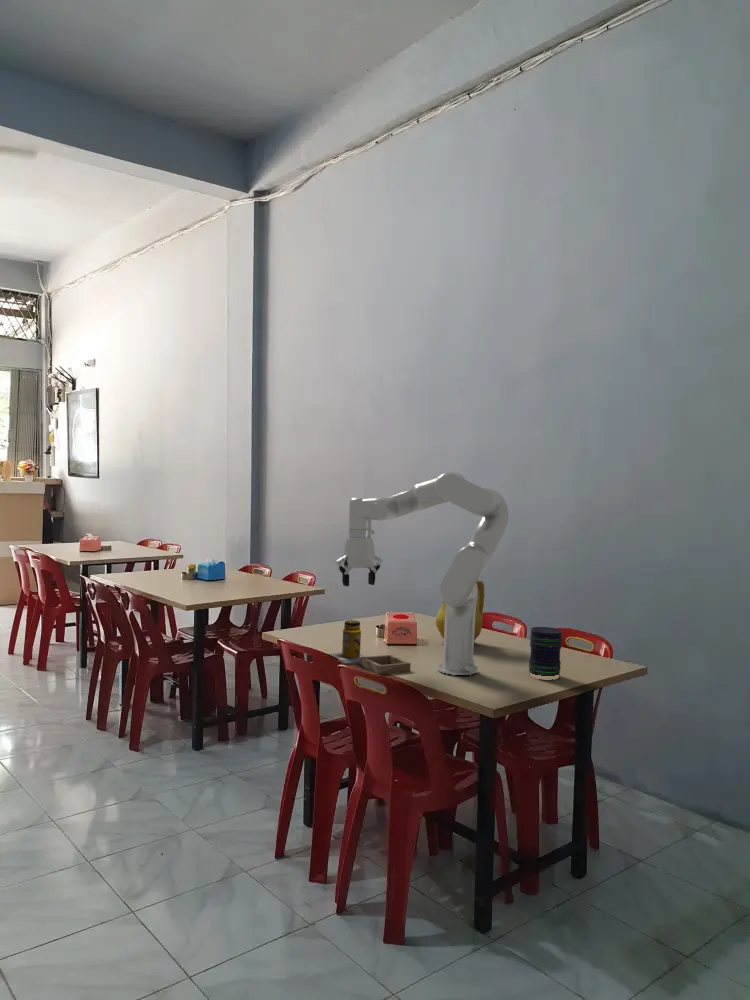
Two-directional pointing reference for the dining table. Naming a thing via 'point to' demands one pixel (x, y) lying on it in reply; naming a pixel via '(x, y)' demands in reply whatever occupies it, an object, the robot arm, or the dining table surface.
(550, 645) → the storage jar
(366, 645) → the dining table surface
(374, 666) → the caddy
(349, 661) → the mat
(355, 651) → the condiment
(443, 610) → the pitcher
